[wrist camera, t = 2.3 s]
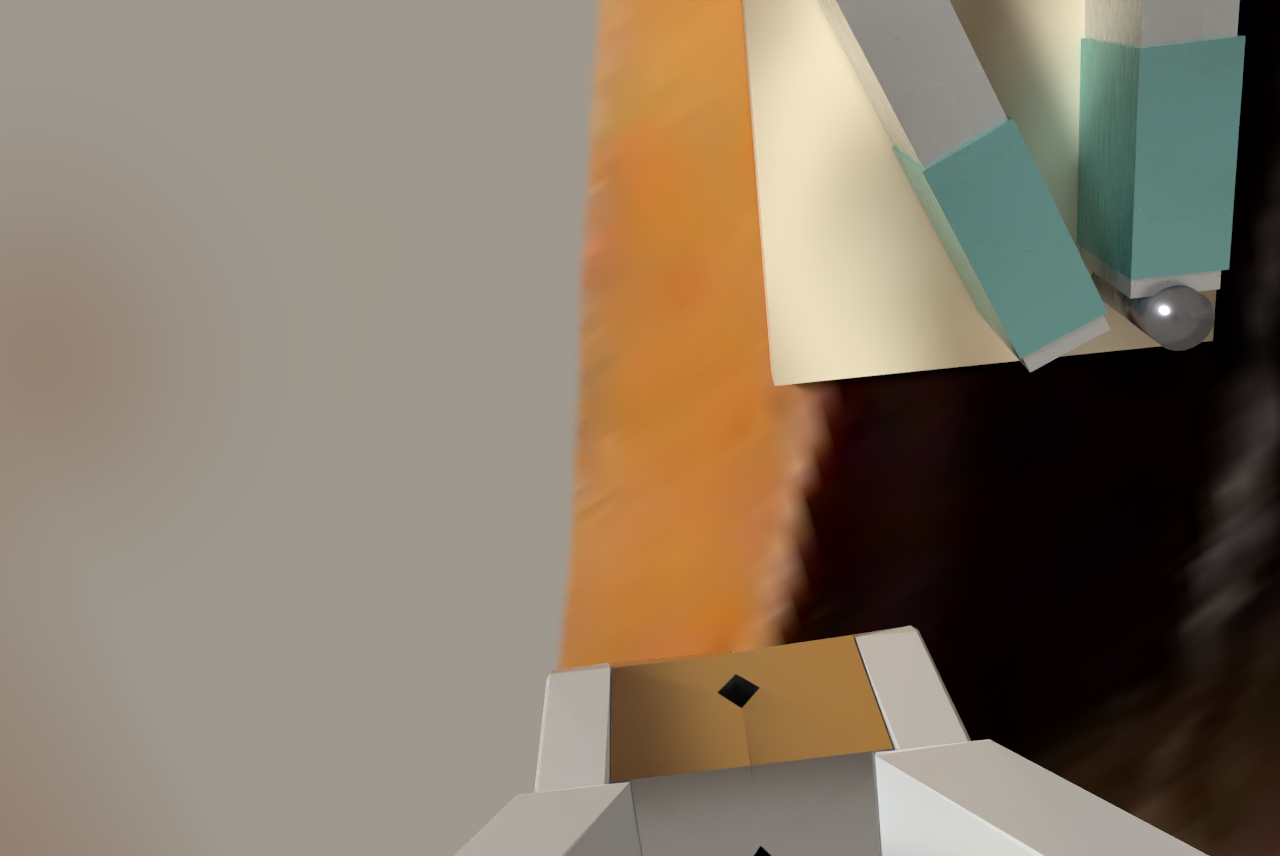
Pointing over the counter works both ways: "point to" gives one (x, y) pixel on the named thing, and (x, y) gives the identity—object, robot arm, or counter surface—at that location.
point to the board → (891, 193)
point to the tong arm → (972, 174)
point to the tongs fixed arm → (1159, 158)
